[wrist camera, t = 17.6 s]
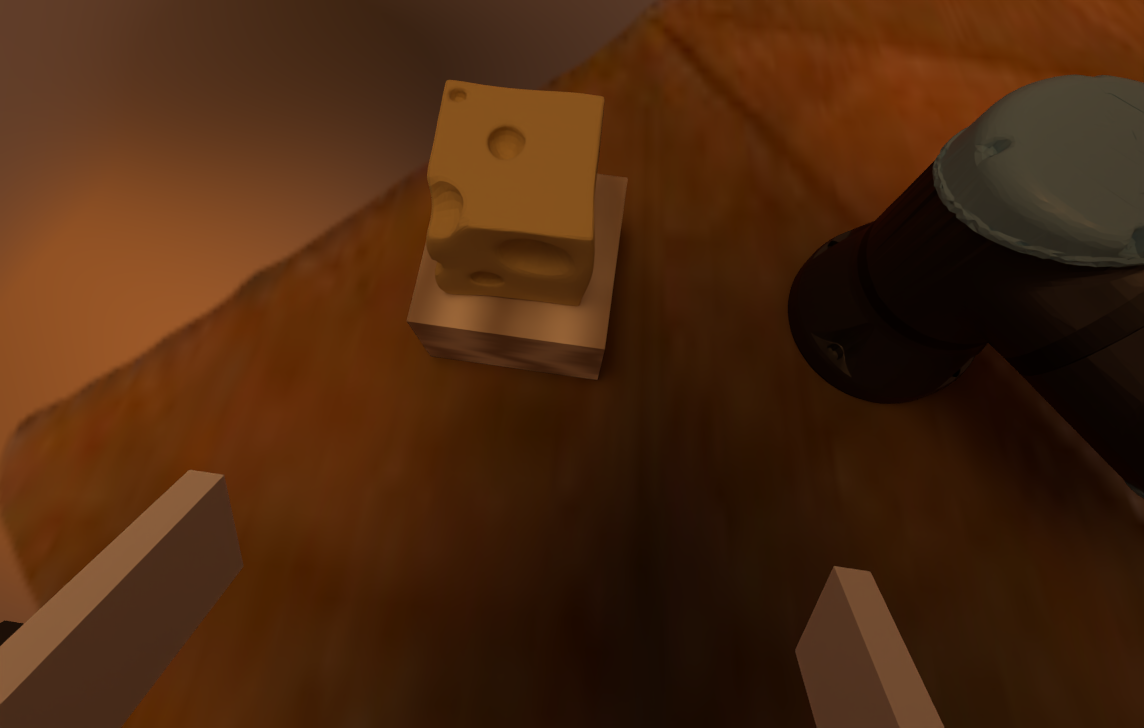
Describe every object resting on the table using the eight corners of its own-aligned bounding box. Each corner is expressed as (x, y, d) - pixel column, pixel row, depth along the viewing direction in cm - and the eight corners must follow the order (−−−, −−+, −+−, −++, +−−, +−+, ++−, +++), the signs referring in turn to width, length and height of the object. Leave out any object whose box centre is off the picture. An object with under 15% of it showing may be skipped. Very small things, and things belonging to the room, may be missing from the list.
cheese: (442, 297, 41) (406, 223, 32) (467, 168, 44) (442, 65, 35) (587, 314, 41) (596, 244, 31) (602, 183, 44) (614, 84, 35)
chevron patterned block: (617, 231, 52) (627, 177, 44) (597, 380, 48) (604, 349, 40) (463, 210, 52) (447, 153, 45) (430, 356, 48) (406, 321, 41)
